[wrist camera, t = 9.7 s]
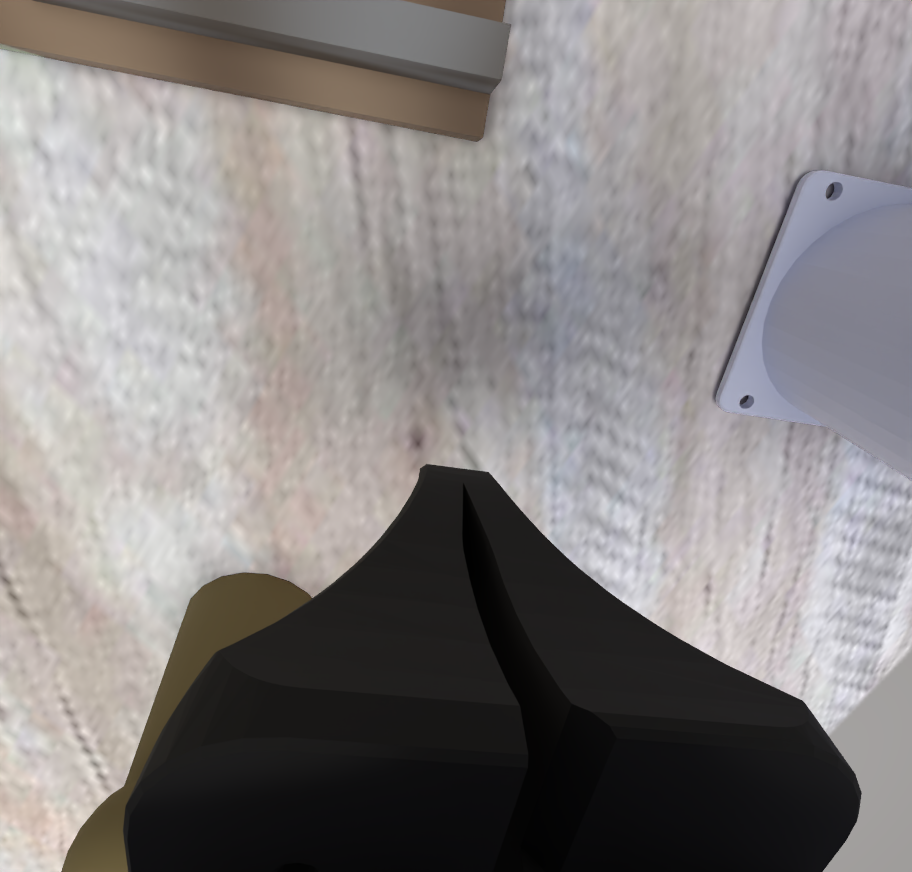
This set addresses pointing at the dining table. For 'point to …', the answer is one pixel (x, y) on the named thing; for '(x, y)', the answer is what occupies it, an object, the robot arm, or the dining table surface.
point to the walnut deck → (290, 51)
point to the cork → (200, 636)
